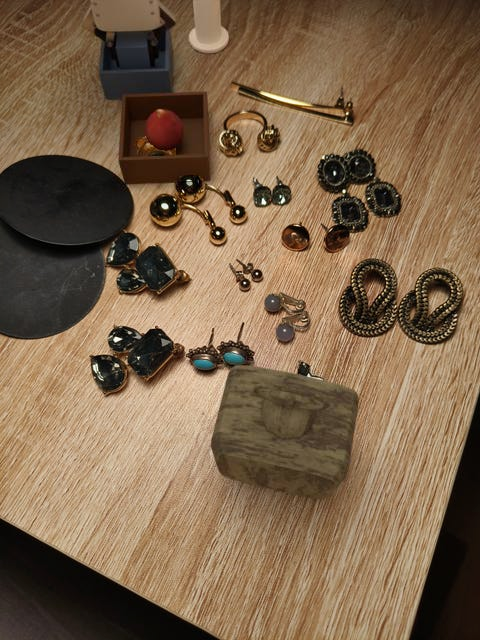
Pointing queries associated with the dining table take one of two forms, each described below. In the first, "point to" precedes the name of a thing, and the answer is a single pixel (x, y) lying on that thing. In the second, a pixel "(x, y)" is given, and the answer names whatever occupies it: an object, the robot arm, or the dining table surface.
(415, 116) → the dining table surface
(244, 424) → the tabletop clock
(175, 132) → the onion
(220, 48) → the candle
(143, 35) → the blue block
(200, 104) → the brown bin
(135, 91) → the blue bin
